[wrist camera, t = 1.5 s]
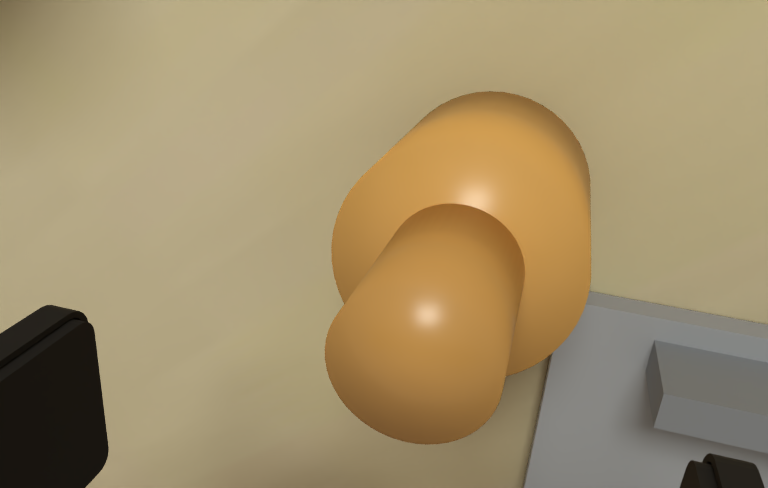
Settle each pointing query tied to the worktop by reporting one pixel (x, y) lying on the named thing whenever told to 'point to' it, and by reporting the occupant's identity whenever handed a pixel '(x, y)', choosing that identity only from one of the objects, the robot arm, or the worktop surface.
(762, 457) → the u rest
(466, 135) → the amber bottle
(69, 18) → the worktop surface
